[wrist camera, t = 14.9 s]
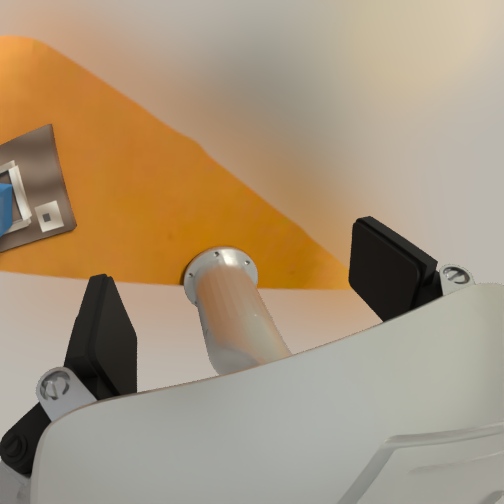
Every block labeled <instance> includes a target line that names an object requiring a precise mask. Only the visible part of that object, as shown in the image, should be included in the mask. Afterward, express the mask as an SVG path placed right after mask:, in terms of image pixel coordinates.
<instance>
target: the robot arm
mask: <svg viewBox="0 0 504 504" xmlns="http://www.w3.org/2000/svg"><path fill="white" fill-rule="evenodd" d="M215 252H217V253H215ZM437 263H438V261H436V260H435V259H433V258H432V257H431V256H429V255H428V254H426V253H425V252H424V251H422V250H421V249H419V248H418V247H416V246H415V245H414V244H412V243H411V242H409V241H408V240H406V239H405V238H403V237H402V236H400V235H399V234H397V233H396V232H394V231H393V230H391V229H390V228H388V227H387V226H385V225H384V224H382V223H380V222H379V221H378V220H376V219H374V218H373V217H371V216H368V217H363V218H358V219H357V220H356V222H355V223H354V224H353V229H352V244H351V257H350V268H349V284H350V286H351V287H352V288H353V289H354V291H355V292H357V294H358V295H359V296H360V297H361V298H362V299H363V300H364V301H365V302H366V303H367V304H368V305H369V307H370V308H371V309H372V310H373V311H374V312H375V313H376V314H377V315H378V316H379V317H380V319H381V320H382V321H383V323H380V324H378V325H375V326H373V327H370V328H368V329H365V330H362V331H360V332H357V333H354V334H352V335H349V336H346V337H344V338H341V339H338V340H335V341H333V342H330V343H327V344H324V345H321V346H318V347H315V348H312V349H309V350H306V351H303V352H300V353H297V354H294V355H292V353H291V352H290V350H289V348H288V347H287V345H286V343H285V342H284V340H283V338H282V336H281V334H280V332H279V331H278V329H277V327H276V325H275V323H274V321H273V319H272V317H271V315H270V313H269V311H268V309H267V308H266V306H265V304H264V302H263V300H262V298H261V296H260V294H259V292H258V290H257V288H256V286H257V281H258V273H257V268H256V266H255V264H254V262H253V261H252V259H251V258H250V257H249V256H248V255H247V254H246V253H245V252H243V251H241V250H239V249H236V248H233V247H215V248H211V249H208V250H206V251H204V252H202V253H200V254H199V255H198V256H196V257H195V258H194V259H193V260H192V261H191V263H190V264H189V265H188V267H187V269H186V271H185V275H184V289H185V293H186V295H187V297H188V299H189V300H190V301H191V302H192V304H194V305H195V306H196V307H198V312H199V316H200V321H201V326H202V330H203V335H204V339H205V344H206V348H207V352H208V356H209V360H210V362H211V364H212V366H213V368H214V369H215V370H216V372H217V373H218V374H219V376H215V377H210V378H206V379H202V380H197V381H193V382H188V383H183V384H179V385H174V386H169V387H164V388H159V389H153V390H148V391H143V392H138V393H137V336H136V333H135V330H134V328H133V326H132V324H131V321H130V319H129V317H128V315H127V312H126V310H125V308H124V305H123V303H122V300H121V298H120V296H119V293H118V291H117V288H116V285H115V283H114V280H113V278H112V277H111V276H110V277H107V275H106V274H100V275H96V276H92V277H90V279H89V282H88V285H87V288H86V291H85V294H84V297H83V301H82V304H81V307H80V310H79V314H78V316H77V317H76V320H75V323H74V327H73V330H72V334H71V338H70V341H69V345H68V349H67V354H66V357H65V362H64V366H63V367H56V368H53V369H51V370H49V371H47V372H46V373H45V374H44V375H43V376H42V377H41V378H40V380H39V381H38V384H37V387H36V395H37V397H38V400H39V402H38V404H36V405H35V406H34V407H33V408H32V409H31V410H30V411H29V412H28V413H27V414H25V415H24V416H23V417H22V418H21V419H20V420H19V421H18V422H17V423H16V424H15V425H14V426H13V427H12V428H11V429H9V430H8V432H7V433H6V434H5V435H4V436H3V438H2V440H1V442H0V456H1V459H2V460H1V462H0V504H504V285H502V284H497V283H479V284H475V282H474V279H473V276H472V275H471V274H470V272H468V270H466V269H465V268H463V267H460V266H457V265H451V264H448V265H444V266H442V267H441V268H440V270H439V272H438V271H436V267H437ZM189 273H191V274H189Z"/></svg>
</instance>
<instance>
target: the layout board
mask: <svg viewBox="0 0 504 504" xmlns="http://www.w3.org/2000/svg"><path fill="white" fill-rule="evenodd" d="M0 183H2V184H12V226H11V227H10V228H9V229H8V230H7V231H6V232H5V233H4V234H3V235H2V236H1V237H0V252H2V251H5V250H8V249H11V248H14V247H17V246H20V245H23V244H26V243H29V242H32V241H36V240H39V239H42V238H45V237H49V236H52V235H56V234H59V233H62V232H66V231H70V230H73V229H75V227H76V226H77V224H76V221H75V218H74V214H73V211H72V208H71V204H70V201H69V197H68V194H67V190H66V186H65V183H64V179H63V175H62V171H61V166H60V162H59V158H58V153H57V148H56V143H55V138H54V133H53V127H52V124H48V125H45V126H43V127H40V128H38V129H36V130H33V131H31V132H28V133H26V134H24V135H22V136H19V137H17V138H15V139H13V140H11V141H8V142H6V143H4V144H2V145H0Z"/></svg>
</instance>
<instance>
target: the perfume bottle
mask: <svg viewBox="0 0 504 504" xmlns="http://www.w3.org/2000/svg"><path fill="white" fill-rule="evenodd" d="M11 226H12V184H2V183H0V237H1V236H2V235H3V234H4V233H5V232H6V231H7V230H8V229H9V228H10V227H11Z"/></svg>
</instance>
